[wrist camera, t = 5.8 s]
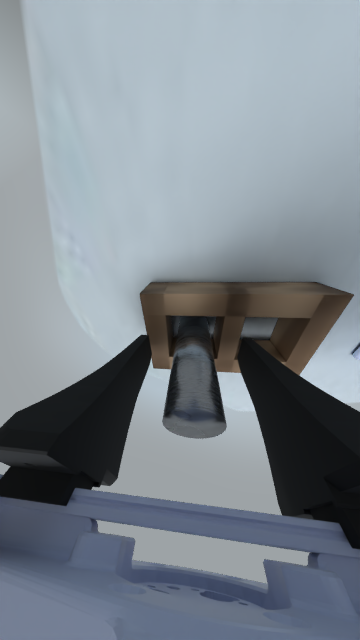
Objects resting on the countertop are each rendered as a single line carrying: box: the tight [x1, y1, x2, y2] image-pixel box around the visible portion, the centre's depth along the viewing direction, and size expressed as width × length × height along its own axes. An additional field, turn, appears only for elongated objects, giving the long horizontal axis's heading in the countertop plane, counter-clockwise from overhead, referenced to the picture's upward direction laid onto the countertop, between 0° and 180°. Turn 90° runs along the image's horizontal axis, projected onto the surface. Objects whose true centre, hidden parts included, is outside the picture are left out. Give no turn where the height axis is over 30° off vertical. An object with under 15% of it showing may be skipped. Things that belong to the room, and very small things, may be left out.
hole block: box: [140, 282, 354, 375], centre depth 12 cm, size 14×8×3 cm, turn 91°
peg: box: [162, 316, 226, 438], centre depth 10 cm, size 3×3×9 cm
